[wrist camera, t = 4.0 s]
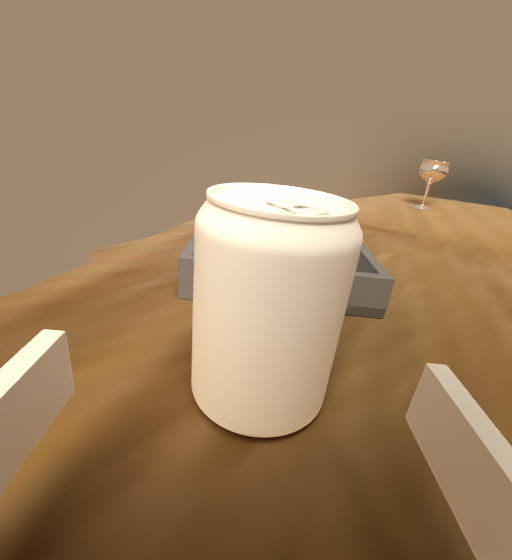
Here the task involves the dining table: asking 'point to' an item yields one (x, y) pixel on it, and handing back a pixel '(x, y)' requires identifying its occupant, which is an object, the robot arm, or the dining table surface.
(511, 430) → the dining table surface
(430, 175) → the wineglass
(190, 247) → the bin
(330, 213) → the beverage can
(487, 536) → the robot arm
